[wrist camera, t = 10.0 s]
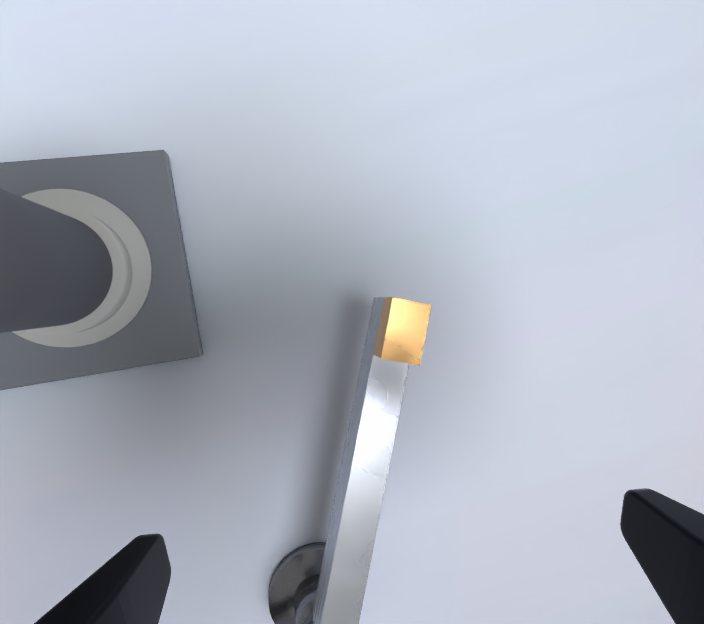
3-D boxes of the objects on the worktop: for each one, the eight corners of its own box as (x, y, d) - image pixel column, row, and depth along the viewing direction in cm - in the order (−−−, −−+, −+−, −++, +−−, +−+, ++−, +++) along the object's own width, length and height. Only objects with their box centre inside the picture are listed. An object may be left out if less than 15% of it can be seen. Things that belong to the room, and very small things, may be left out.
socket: (202, 354, 20) (199, 356, 19) (-22, 392, 18) (-38, 397, 17) (168, 156, 20) (162, 148, 19) (-67, 175, 18) (-87, 167, 17)
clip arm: (350, 678, 18) (364, 750, 16) (282, 677, 18) (283, 751, 15) (422, 307, 19) (450, 308, 16) (357, 294, 18) (373, 293, 15)
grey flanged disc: (377, 591, 22) (395, 642, 19) (303, 651, 22) (308, 715, 18) (328, 524, 22) (337, 564, 18) (250, 583, 21) (245, 637, 18)
